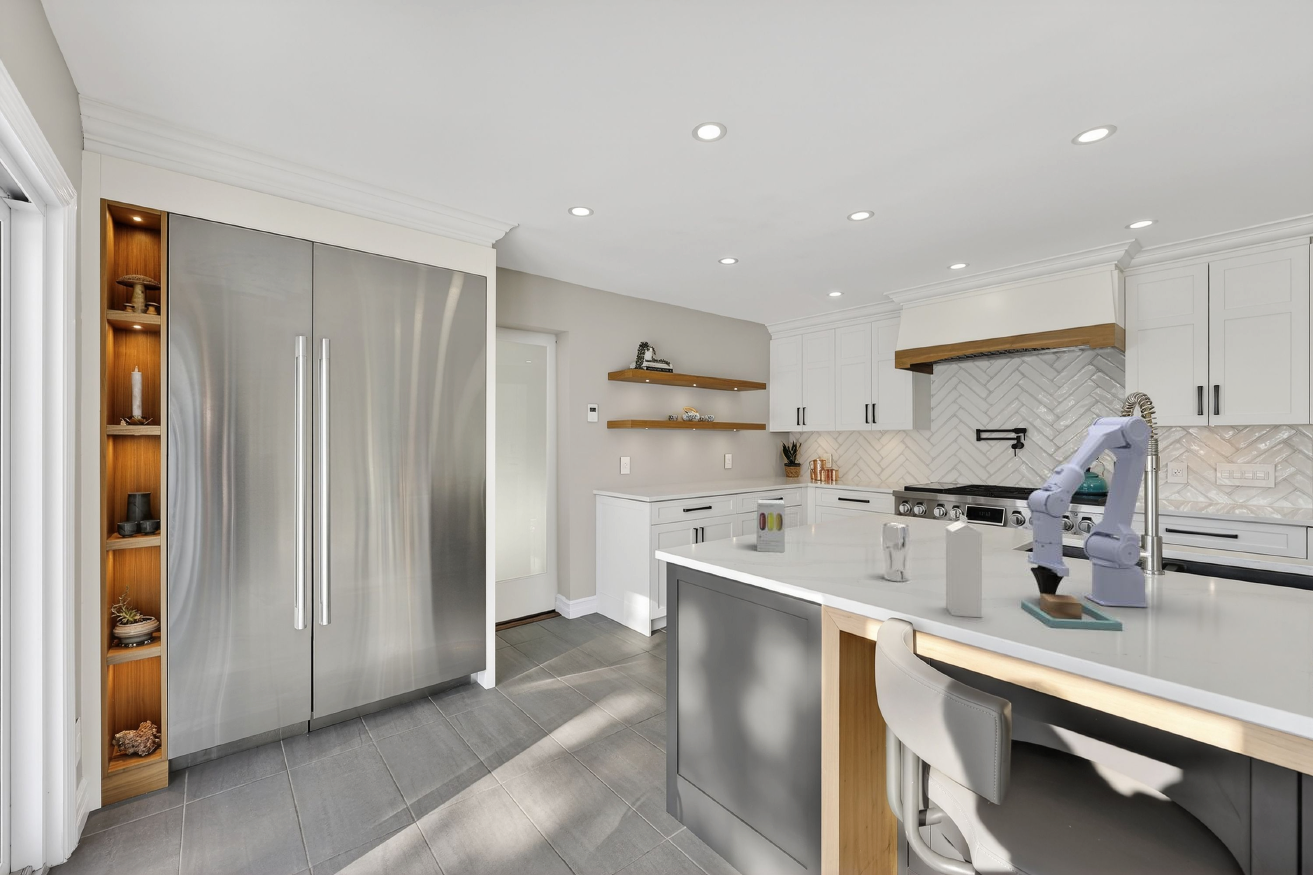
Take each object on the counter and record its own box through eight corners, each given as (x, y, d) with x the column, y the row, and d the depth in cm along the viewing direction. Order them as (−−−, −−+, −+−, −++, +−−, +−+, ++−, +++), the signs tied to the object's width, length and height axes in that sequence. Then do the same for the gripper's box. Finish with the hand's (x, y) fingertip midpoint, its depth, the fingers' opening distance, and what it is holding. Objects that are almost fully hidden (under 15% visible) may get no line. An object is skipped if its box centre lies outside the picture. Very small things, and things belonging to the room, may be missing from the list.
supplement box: (756, 551, 195) (756, 502, 195) (756, 546, 204) (756, 499, 204) (785, 552, 193) (785, 502, 193) (784, 546, 202) (783, 499, 202)
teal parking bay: (1085, 610, 130) (1085, 603, 130) (1122, 630, 117) (1122, 623, 117) (1021, 607, 133) (1021, 601, 133) (1050, 627, 120) (1050, 620, 120)
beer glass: (912, 582, 154) (912, 527, 154) (884, 581, 156) (884, 526, 156) (906, 576, 161) (906, 523, 161) (880, 575, 163) (880, 522, 162)
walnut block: (1070, 613, 129) (1070, 595, 129) (1081, 621, 123) (1081, 603, 123) (1040, 610, 131) (1040, 593, 131) (1049, 619, 125) (1049, 601, 125)
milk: (952, 616, 127) (951, 517, 127) (945, 607, 133) (944, 513, 133) (982, 617, 126) (982, 518, 126) (974, 609, 132) (973, 513, 131)
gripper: (1014, 535, 142) (1014, 590, 142) (1044, 547, 127) (1044, 608, 128) (1045, 536, 141) (1045, 591, 141) (1079, 548, 126) (1079, 609, 126)
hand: (1047, 599), depth 134 cm, fingers closed
